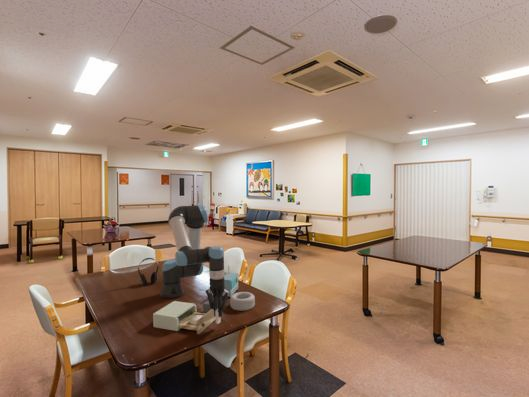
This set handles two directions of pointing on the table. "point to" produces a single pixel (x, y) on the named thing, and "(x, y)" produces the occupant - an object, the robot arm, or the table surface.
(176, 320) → the drawer cabinet
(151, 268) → the table surface
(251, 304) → the donut shape
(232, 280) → the radio
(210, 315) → the wooden drawer
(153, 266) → the table surface
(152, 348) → the table surface
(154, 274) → the headphones
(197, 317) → the white smooth rounded piece
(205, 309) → the block
